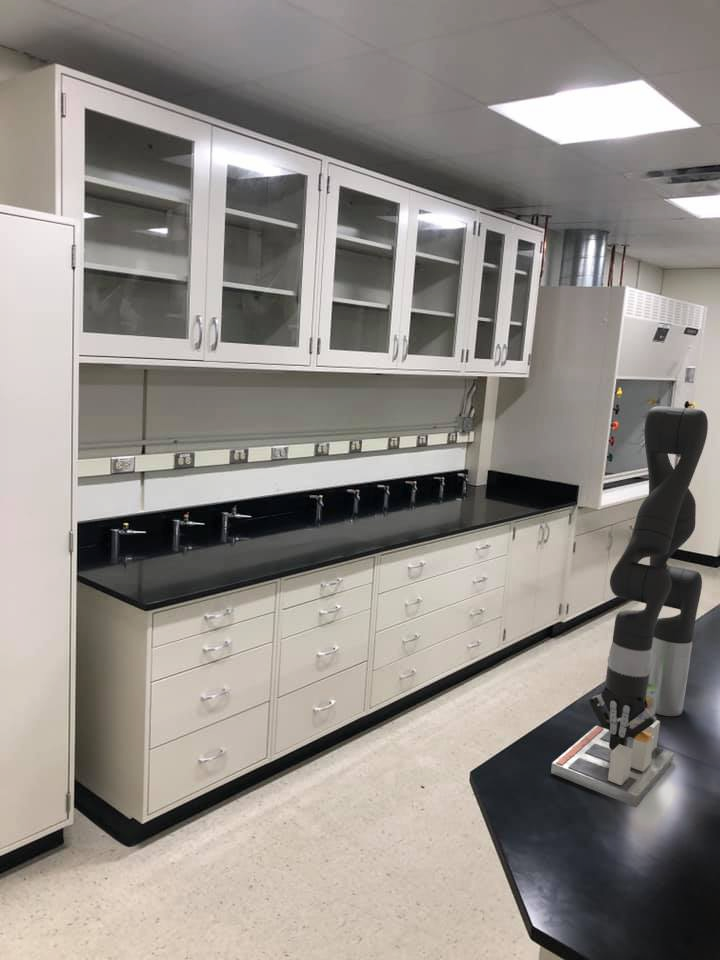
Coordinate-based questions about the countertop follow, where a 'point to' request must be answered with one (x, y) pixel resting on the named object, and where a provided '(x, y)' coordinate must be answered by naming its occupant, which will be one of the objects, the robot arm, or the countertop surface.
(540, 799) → the countertop surface
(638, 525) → the robot arm
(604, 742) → the panel
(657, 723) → the block
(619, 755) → the breaker near
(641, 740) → the block
